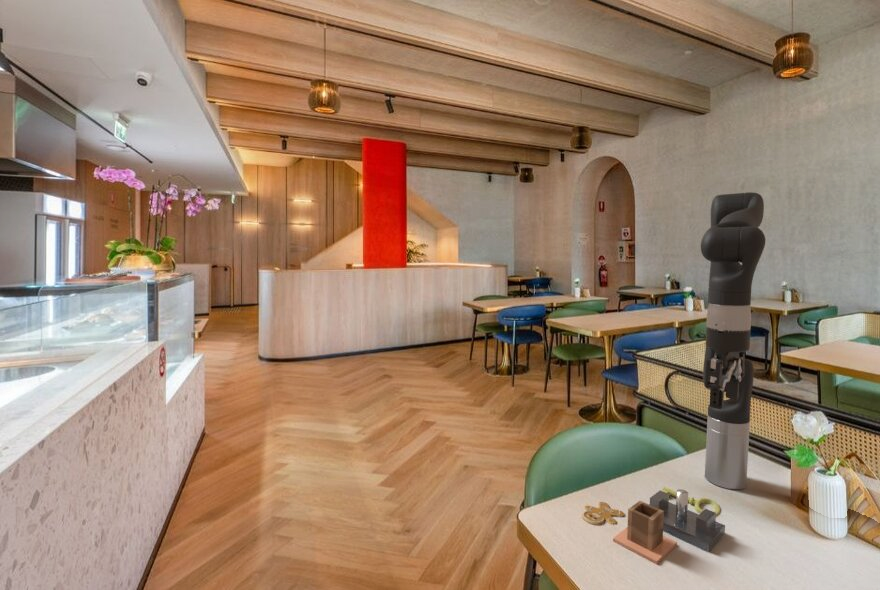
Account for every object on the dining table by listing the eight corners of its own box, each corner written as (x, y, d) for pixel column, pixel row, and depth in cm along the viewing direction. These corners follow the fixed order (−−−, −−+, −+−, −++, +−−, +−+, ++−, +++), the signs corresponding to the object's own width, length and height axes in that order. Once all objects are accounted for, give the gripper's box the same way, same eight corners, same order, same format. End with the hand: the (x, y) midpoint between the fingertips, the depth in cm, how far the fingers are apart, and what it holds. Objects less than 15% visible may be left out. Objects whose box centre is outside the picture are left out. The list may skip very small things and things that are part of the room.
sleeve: (638, 529, 93) (639, 500, 92) (662, 541, 89) (663, 511, 89) (627, 539, 90) (628, 509, 89) (651, 551, 86) (652, 520, 85)
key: (660, 493, 109) (661, 485, 109) (718, 505, 104) (718, 497, 104) (661, 508, 103) (661, 499, 102) (722, 522, 97) (723, 513, 97)
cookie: (630, 514, 99) (602, 528, 93) (630, 518, 99) (602, 532, 93) (599, 497, 106) (571, 510, 100) (599, 501, 106) (571, 514, 100)
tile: (634, 524, 96) (634, 521, 96) (676, 544, 89) (676, 542, 89) (612, 540, 90) (612, 538, 90) (656, 564, 83) (656, 561, 83)
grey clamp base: (657, 505, 103) (659, 473, 102) (724, 534, 92) (726, 498, 92) (639, 519, 97) (640, 485, 97) (708, 552, 86) (710, 514, 86)
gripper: (720, 320, 95) (717, 391, 97) (693, 327, 86) (690, 406, 88) (761, 324, 89) (757, 400, 91) (736, 332, 81) (732, 416, 82)
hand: (724, 403), depth 90 cm, fingers open, 8 cm apart
